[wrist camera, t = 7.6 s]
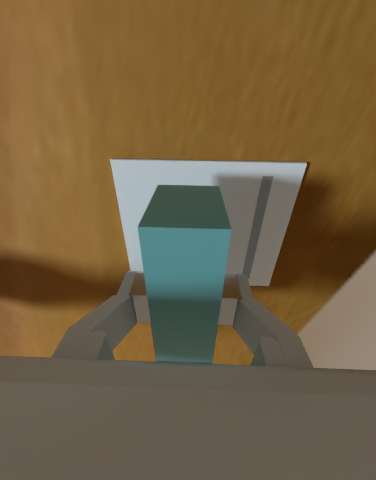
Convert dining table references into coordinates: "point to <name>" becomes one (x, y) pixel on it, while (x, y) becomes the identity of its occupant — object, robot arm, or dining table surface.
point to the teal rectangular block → (184, 269)
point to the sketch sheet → (234, 197)
